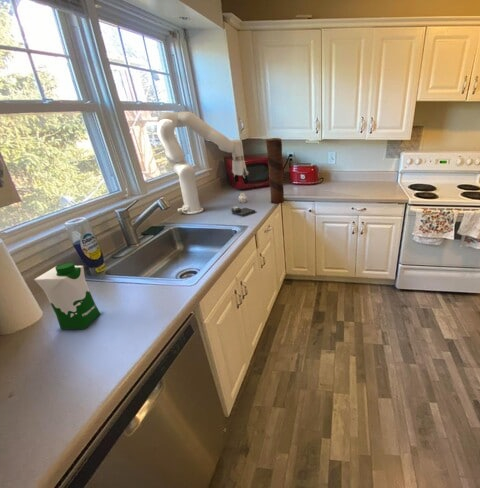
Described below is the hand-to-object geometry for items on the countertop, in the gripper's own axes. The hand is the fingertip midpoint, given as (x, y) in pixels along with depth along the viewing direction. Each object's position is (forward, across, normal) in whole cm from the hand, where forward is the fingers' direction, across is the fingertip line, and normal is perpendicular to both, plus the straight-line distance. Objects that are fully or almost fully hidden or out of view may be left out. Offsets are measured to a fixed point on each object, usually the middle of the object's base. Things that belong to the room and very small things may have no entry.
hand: (241, 182), depth 202 cm
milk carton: (+13, +62, -119) cm, 134 cm away
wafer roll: (+15, +20, +15) cm, 29 cm away
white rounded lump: (+15, 0, -1) cm, 15 cm away
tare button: (+11, +16, -21) cm, 29 cm away
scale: (+14, +20, -17) cm, 30 cm away
